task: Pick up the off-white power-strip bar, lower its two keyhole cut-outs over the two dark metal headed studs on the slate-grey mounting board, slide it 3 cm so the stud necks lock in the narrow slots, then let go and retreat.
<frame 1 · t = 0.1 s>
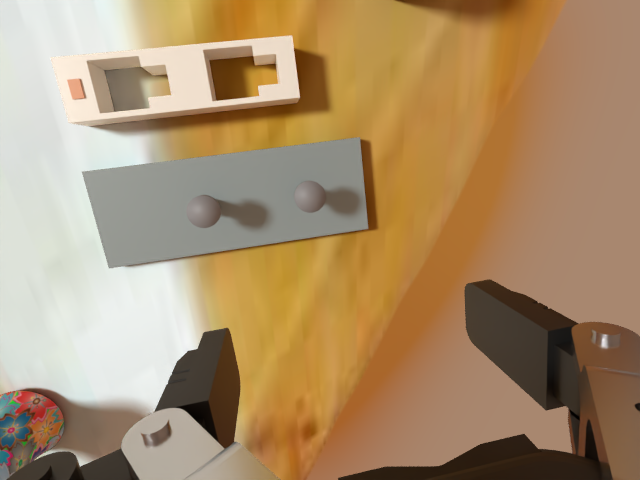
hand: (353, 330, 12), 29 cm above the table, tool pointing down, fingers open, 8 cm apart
mounting board: (236, 200, 39), on the table
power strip: (185, 86, 36), on the table
mug: (16, 415, 41), on the table
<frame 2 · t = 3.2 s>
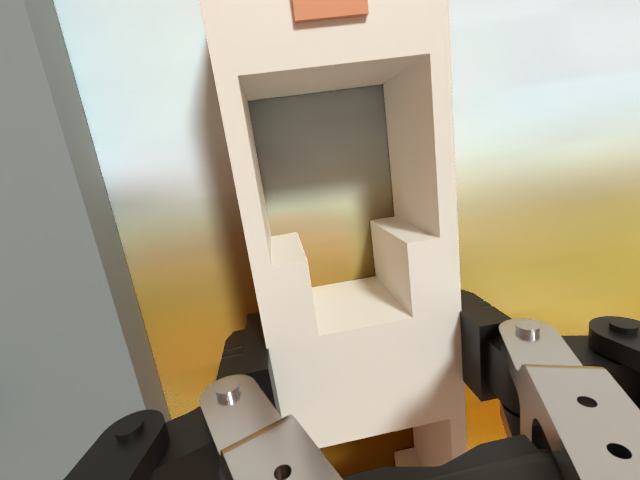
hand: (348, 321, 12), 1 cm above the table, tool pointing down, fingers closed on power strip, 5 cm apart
mounting board: (23, 439, 13), on the table
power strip: (343, 300, 13), on the table, touching gripper
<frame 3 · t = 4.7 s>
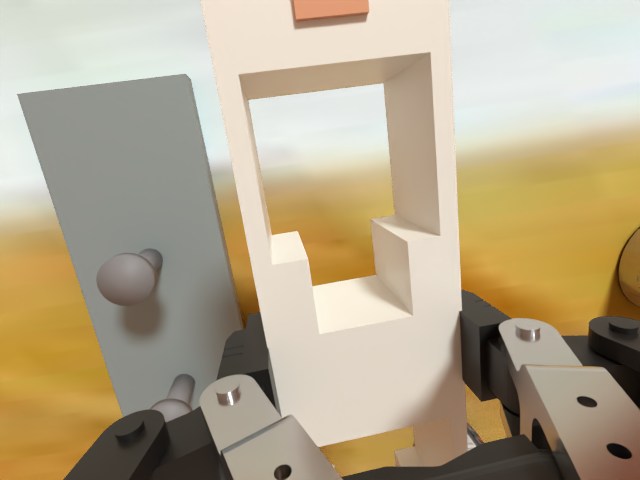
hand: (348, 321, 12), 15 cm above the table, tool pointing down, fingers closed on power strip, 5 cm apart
mounting board: (165, 285, 27), on the table
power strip: (343, 298, 13), point 15 cm above the table, touching gripper
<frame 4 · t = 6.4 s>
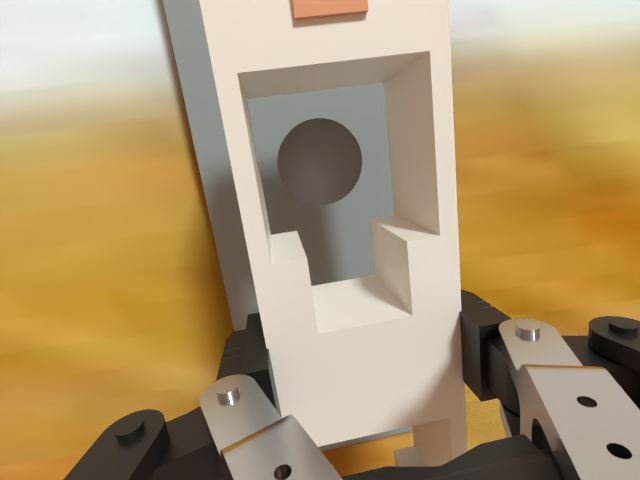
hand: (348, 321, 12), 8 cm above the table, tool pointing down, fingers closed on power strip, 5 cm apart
mounting board: (311, 208, 19), on the table
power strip: (343, 298, 13), point 7 cm above the table, touching gripper
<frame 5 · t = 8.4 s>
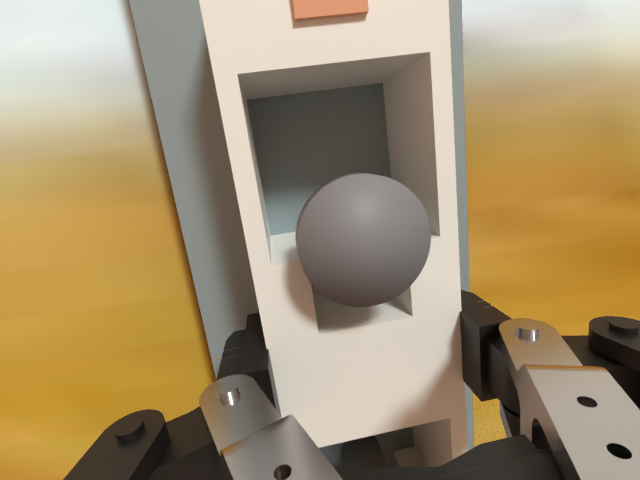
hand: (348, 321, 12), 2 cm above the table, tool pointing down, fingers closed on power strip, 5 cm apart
mounting board: (332, 267, 14), on the table
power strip: (343, 299, 13), point 2 cm above the table, touching gripper
when the fingers open (2 cm above the table, at t = 9.9 s): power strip stays where it is, resting on mounting board.
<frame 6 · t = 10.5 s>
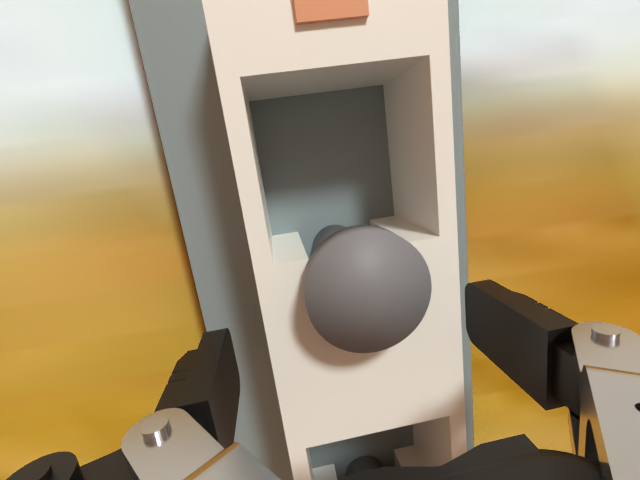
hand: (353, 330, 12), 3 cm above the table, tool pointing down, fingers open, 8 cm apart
mounting board: (335, 295, 15), on the table
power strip: (343, 298, 13), point 1 cm above the table, touching mounting board
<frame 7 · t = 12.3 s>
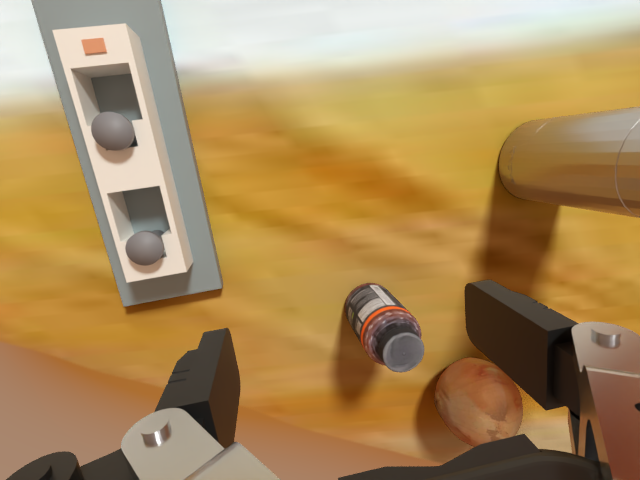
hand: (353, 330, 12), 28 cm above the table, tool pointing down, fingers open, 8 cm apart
supplement bottle: (366, 303, 43), on the table
mounting board: (143, 161, 35), on the table
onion: (455, 375, 48), on the table
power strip: (137, 156, 34), point 1 cm above the table, touching mounting board
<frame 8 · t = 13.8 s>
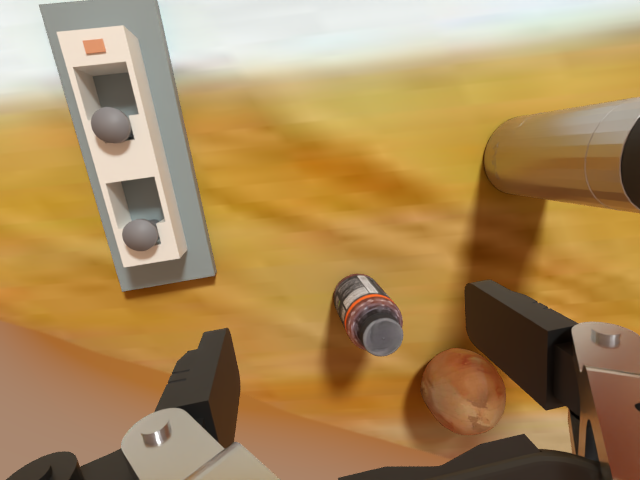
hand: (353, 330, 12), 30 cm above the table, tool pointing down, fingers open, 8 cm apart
supplement bottle: (355, 293, 45), on the table
mounting board: (141, 155, 37), on the table
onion: (443, 366, 49), on the table
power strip: (135, 150, 36), point 1 cm above the table, touching mounting board
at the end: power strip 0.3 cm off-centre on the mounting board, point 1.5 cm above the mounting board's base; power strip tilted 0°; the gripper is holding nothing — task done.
